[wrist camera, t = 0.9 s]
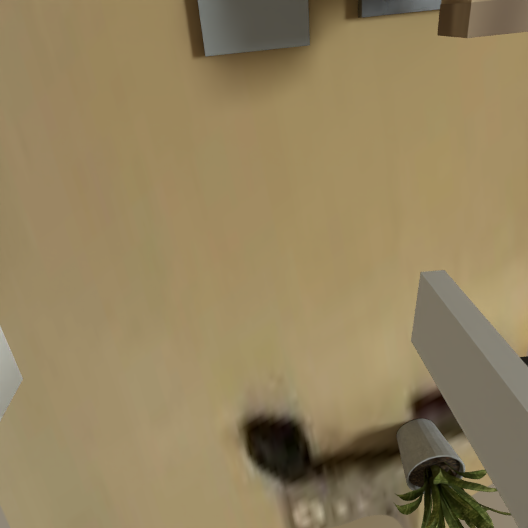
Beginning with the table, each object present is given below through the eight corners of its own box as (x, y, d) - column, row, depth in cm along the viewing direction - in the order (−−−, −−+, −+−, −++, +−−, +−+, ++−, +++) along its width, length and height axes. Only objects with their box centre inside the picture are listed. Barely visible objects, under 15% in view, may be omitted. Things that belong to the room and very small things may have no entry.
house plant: (356, 479, 62) (395, 618, 48) (349, 410, 55) (393, 547, 41) (457, 461, 62) (528, 594, 48) (463, 389, 55) (547, 519, 41)
